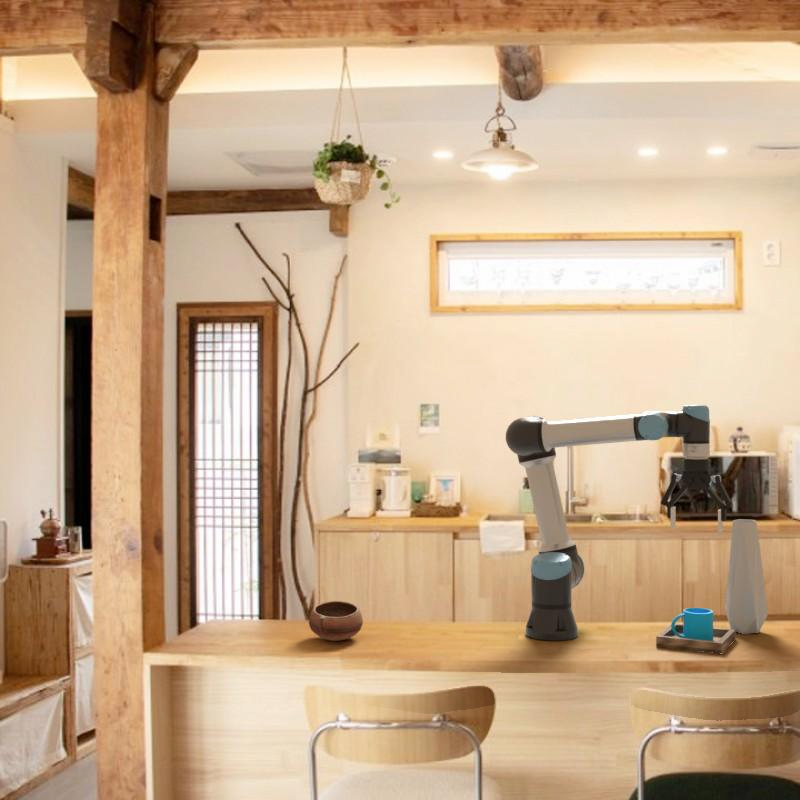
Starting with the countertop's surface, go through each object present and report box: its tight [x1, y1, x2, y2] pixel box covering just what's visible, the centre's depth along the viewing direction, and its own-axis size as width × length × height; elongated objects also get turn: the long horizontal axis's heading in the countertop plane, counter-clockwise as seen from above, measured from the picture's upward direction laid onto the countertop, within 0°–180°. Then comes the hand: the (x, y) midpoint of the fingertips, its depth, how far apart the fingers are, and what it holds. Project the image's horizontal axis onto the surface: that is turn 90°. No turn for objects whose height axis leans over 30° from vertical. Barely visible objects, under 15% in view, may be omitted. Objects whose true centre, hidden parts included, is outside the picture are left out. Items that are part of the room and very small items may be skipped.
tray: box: [655, 623, 737, 654], centre depth 301 cm, size 18×18×3 cm
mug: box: [670, 607, 714, 641], centre depth 301 cm, size 12×8×8 cm
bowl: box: [308, 600, 364, 642], centre depth 309 cm, size 16×16×10 cm
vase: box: [724, 518, 769, 635], centre depth 314 cm, size 12×12×33 cm
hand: (696, 530), depth 309 cm, fingers open, 13 cm apart
